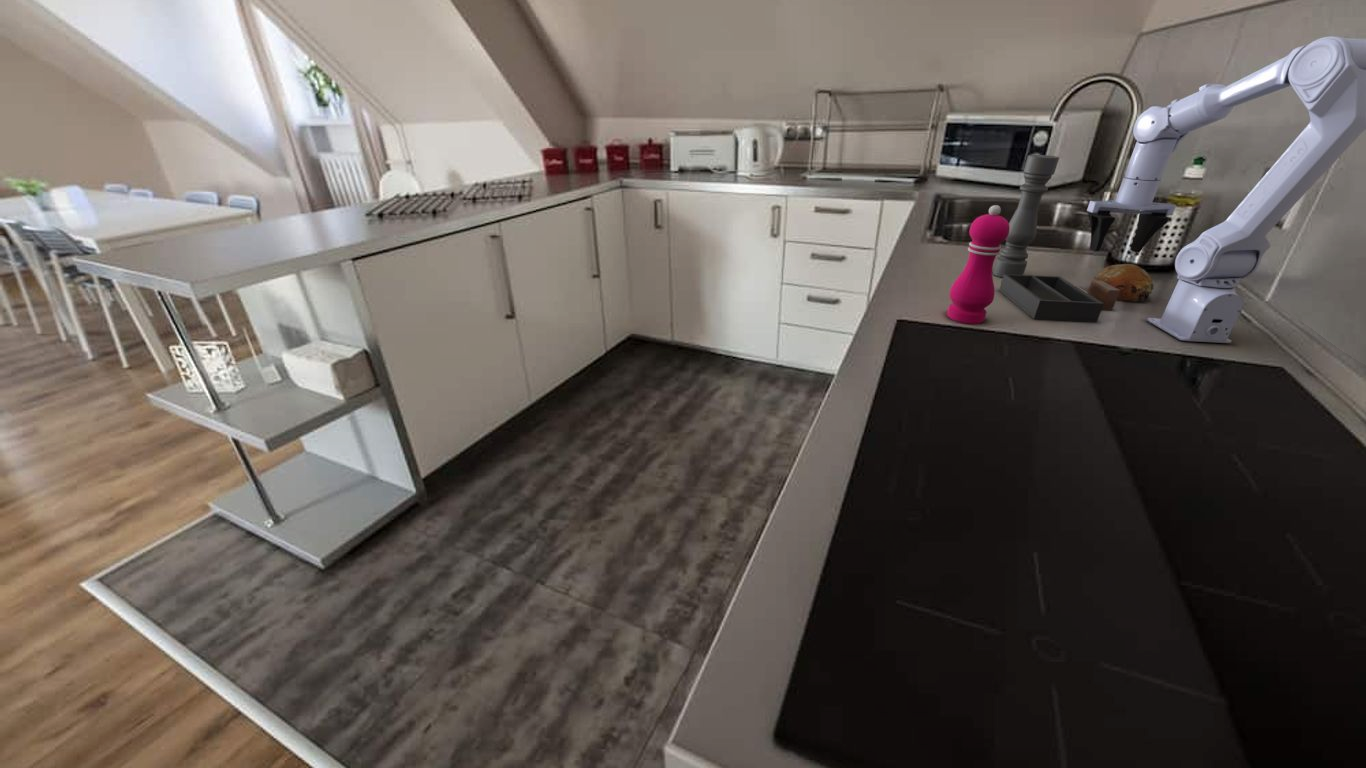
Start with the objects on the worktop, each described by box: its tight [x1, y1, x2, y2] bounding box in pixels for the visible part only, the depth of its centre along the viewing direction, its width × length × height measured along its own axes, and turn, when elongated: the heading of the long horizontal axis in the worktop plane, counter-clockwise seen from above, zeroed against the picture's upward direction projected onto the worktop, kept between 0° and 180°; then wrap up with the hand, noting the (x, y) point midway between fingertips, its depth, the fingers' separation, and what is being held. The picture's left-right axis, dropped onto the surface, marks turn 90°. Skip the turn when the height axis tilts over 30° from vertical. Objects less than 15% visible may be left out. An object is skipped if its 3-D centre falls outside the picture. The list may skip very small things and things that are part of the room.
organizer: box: [998, 274, 1104, 323], centre depth 108 cm, size 16×11×4 cm
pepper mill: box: [946, 204, 1010, 325], centre depth 97 cm, size 7×7×20 cm
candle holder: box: [992, 154, 1060, 279], centre depth 120 cm, size 6×6×25 cm
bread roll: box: [1092, 263, 1154, 303], centre depth 114 cm, size 10×10×8 cm
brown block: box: [1075, 279, 1120, 311], centre depth 112 cm, size 13×2×4 cm, turn 174°
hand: (1114, 250), depth 111 cm, fingers open, 7 cm apart
